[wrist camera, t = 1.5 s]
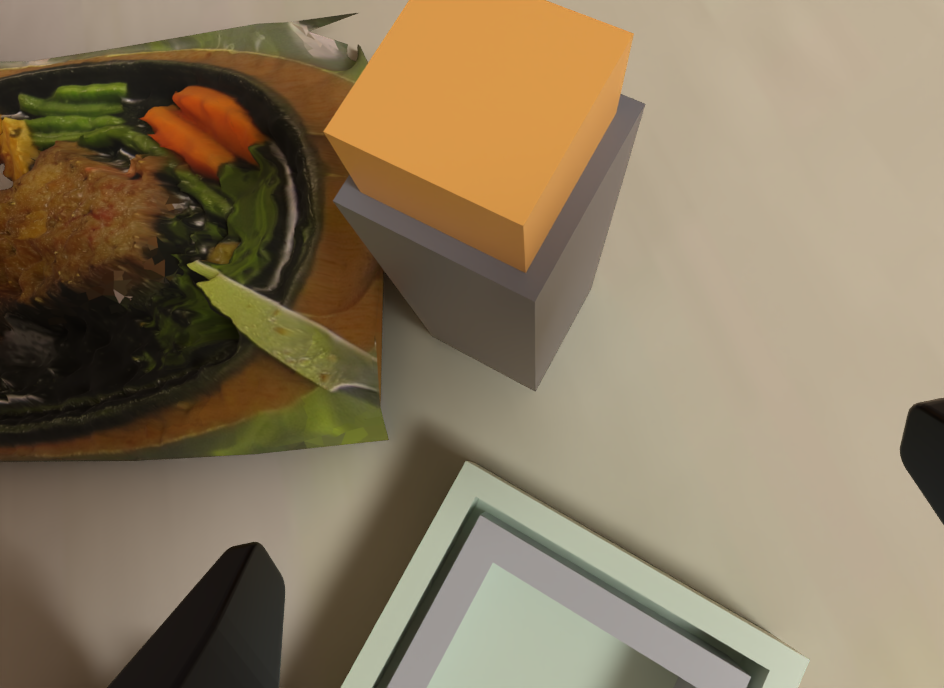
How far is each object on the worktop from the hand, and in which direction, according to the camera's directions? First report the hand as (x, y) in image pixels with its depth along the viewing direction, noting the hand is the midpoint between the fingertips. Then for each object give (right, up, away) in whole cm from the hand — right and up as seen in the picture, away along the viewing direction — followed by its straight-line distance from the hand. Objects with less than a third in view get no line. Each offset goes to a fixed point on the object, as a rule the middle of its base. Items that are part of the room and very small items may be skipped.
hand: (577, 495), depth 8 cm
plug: (0, +3, +14) cm, 14 cm away
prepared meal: (-18, +6, +17) cm, 26 cm away
